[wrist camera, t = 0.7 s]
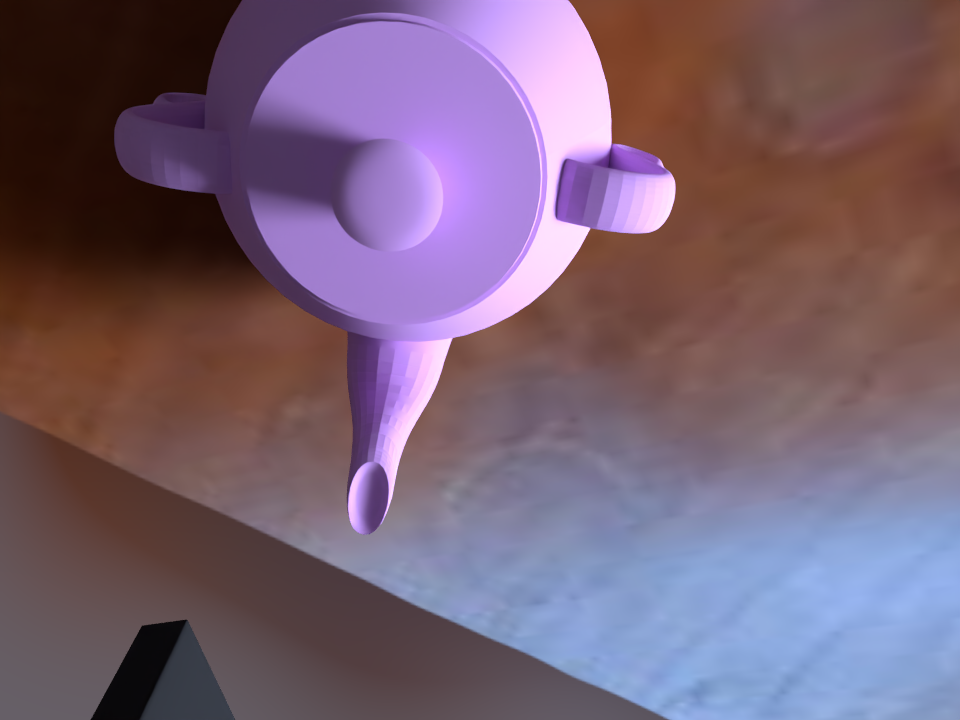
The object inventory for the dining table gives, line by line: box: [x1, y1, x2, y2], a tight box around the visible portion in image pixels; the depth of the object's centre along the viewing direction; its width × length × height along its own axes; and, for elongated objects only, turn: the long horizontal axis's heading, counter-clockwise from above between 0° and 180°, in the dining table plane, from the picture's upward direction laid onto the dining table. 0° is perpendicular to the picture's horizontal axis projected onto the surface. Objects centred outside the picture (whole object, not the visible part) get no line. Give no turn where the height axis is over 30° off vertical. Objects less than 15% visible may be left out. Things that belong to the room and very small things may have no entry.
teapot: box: [114, 0, 675, 535], centre depth 29 cm, size 22×22×14 cm
